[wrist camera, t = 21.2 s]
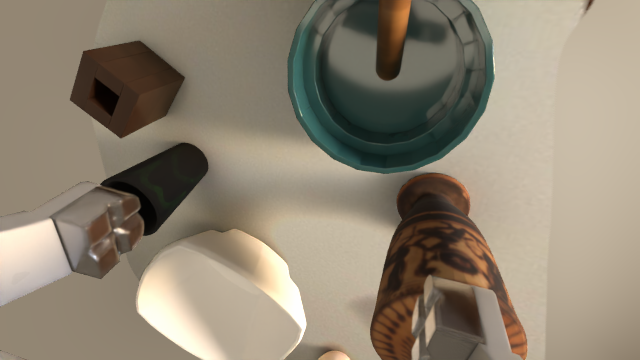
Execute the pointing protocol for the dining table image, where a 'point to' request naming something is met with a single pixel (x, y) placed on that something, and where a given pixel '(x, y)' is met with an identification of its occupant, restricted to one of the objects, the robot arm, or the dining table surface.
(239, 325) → the bowl
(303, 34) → the mixing bowl
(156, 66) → the holder
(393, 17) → the stick
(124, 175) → the cup
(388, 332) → the vase
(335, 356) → the egg
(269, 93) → the dining table surface
